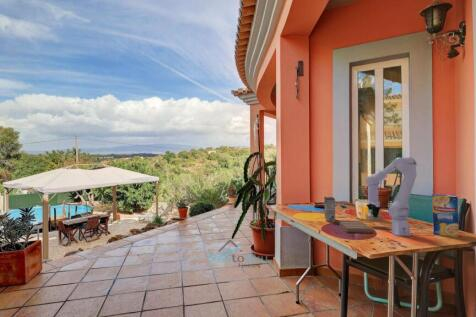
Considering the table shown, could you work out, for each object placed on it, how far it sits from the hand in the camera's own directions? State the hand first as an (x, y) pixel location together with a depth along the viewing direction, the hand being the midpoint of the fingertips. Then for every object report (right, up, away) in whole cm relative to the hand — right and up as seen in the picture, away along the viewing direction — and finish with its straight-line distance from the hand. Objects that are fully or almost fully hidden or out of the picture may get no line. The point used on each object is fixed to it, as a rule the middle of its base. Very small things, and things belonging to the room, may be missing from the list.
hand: (373, 216), depth 164 cm
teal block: (0, +1, 0) cm, 1 cm away
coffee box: (-21, -7, +19) cm, 30 cm away
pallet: (0, -3, 0) cm, 3 cm away
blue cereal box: (+29, -6, -20) cm, 36 cm away
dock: (-15, -7, -4) cm, 17 cm away
